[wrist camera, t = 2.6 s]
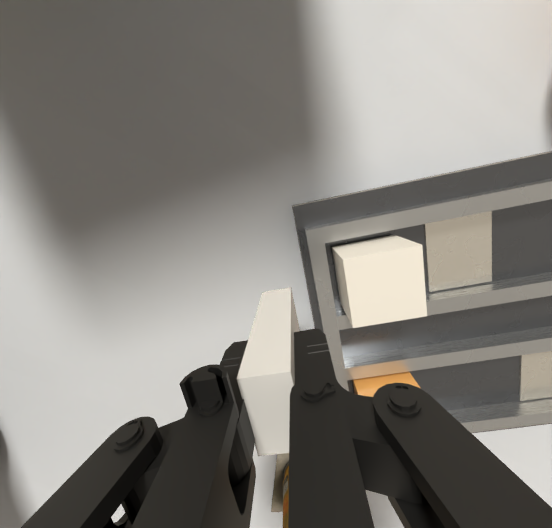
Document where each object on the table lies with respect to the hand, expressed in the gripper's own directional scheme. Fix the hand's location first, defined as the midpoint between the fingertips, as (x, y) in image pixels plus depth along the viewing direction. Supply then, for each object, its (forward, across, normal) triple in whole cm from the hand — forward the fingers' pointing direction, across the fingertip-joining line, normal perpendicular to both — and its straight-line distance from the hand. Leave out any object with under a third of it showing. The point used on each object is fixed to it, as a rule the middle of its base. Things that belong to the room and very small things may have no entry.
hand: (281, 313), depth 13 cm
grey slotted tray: (+7, +12, -5) cm, 15 cm away
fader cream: (+4, +6, 0) cm, 7 cm away
